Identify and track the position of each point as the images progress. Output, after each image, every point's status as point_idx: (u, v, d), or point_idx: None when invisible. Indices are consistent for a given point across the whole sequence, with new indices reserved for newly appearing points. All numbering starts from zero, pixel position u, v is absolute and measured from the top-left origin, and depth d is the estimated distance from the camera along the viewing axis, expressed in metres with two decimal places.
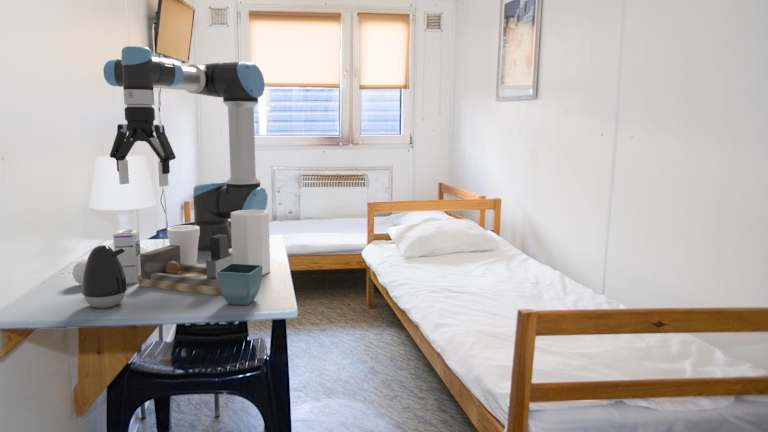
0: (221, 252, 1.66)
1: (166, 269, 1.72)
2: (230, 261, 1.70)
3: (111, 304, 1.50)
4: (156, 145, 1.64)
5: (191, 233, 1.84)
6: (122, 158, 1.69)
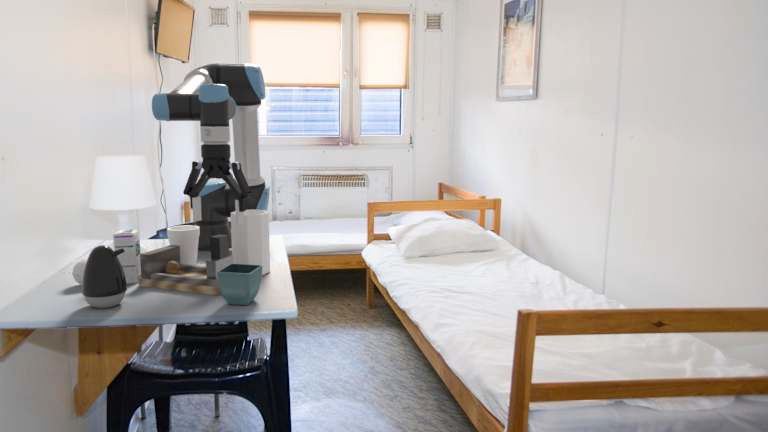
0: (221, 252, 1.66)
1: (166, 269, 1.72)
2: (230, 261, 1.70)
3: (111, 304, 1.50)
4: (233, 182, 1.62)
5: (191, 233, 1.84)
6: (195, 195, 1.67)
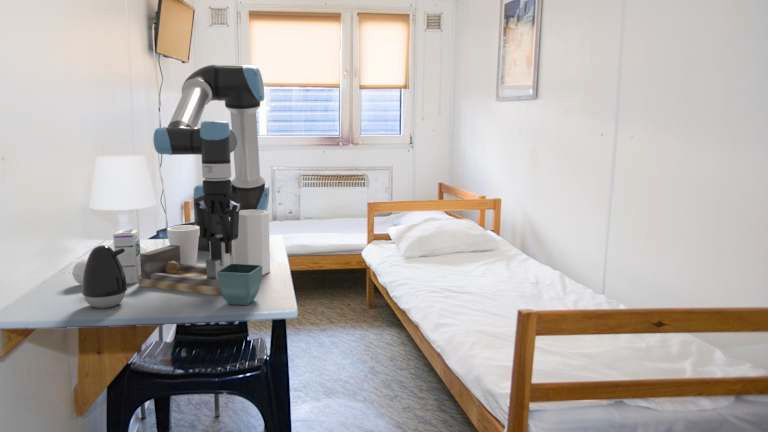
0: (221, 252, 1.66)
1: (166, 269, 1.72)
2: (230, 261, 1.70)
3: (111, 304, 1.50)
4: (226, 223, 1.65)
5: (191, 233, 1.84)
6: None
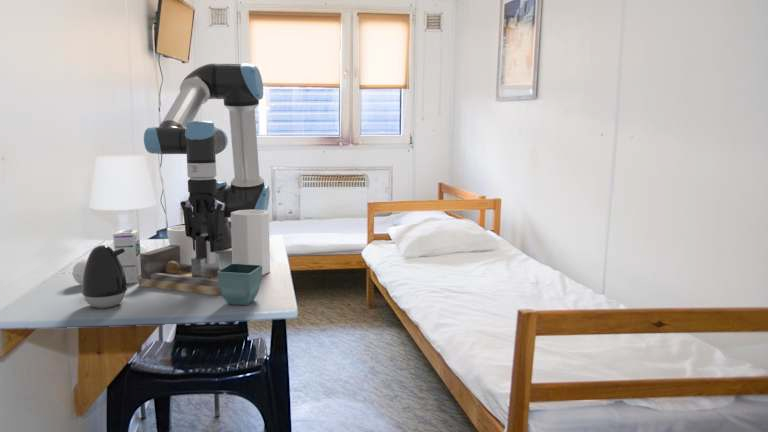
0: (206, 251, 1.67)
1: (166, 269, 1.72)
2: (216, 260, 1.72)
3: (111, 304, 1.50)
4: (211, 221, 1.67)
5: None
6: None
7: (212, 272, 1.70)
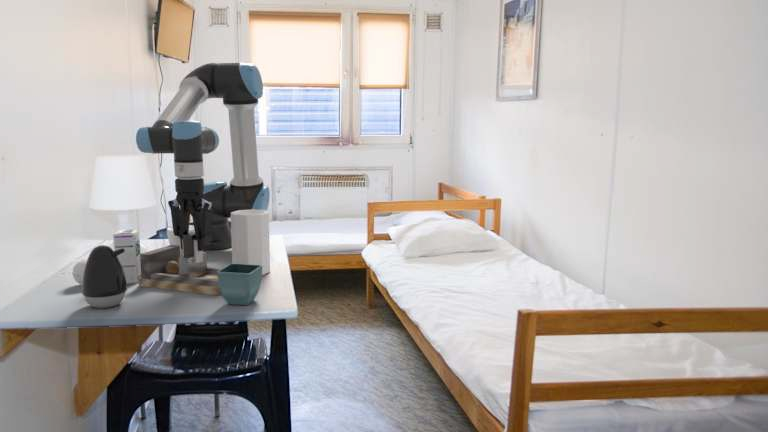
0: None
1: (166, 269, 1.72)
2: (203, 258, 1.73)
3: (111, 304, 1.50)
4: (199, 221, 1.68)
5: None
6: None
7: (199, 270, 1.72)
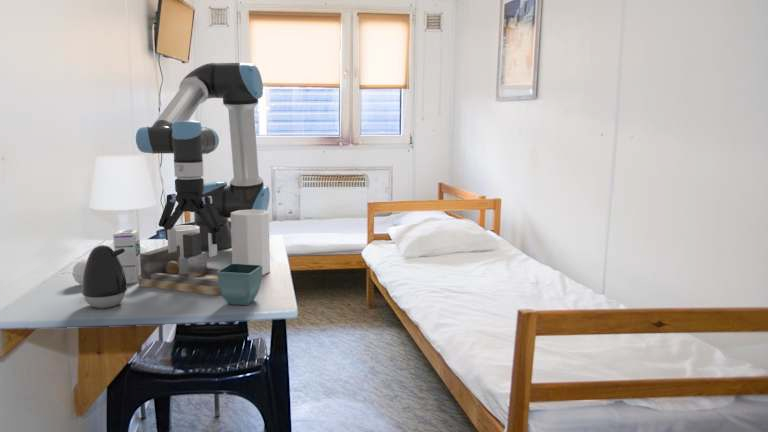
0: (193, 249, 1.69)
1: (166, 269, 1.72)
2: (203, 258, 1.73)
3: (111, 304, 1.50)
4: (206, 216, 1.67)
5: None
6: (170, 227, 1.72)
7: (199, 270, 1.72)
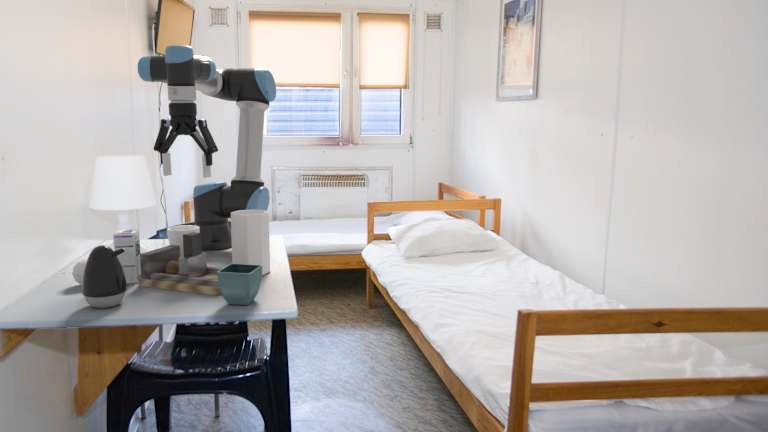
0: (193, 249, 1.69)
1: (166, 269, 1.72)
2: (203, 258, 1.73)
3: (111, 304, 1.50)
4: (200, 138, 1.74)
5: None
6: (165, 151, 1.79)
7: (199, 270, 1.72)
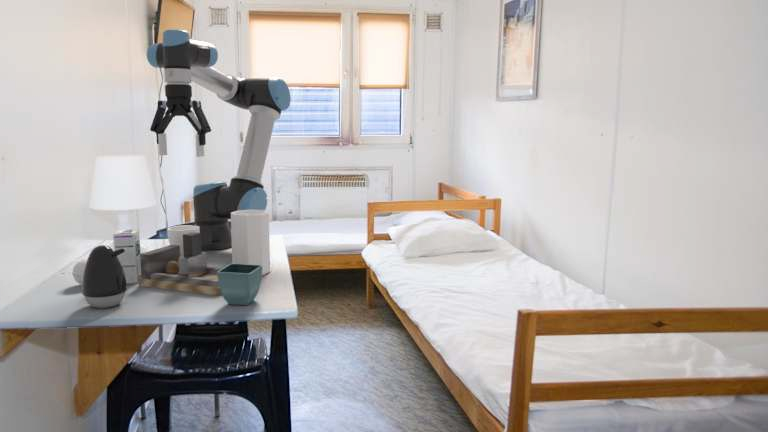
0: (193, 249, 1.69)
1: (166, 269, 1.72)
2: (203, 258, 1.73)
3: (111, 304, 1.50)
4: (194, 119, 1.81)
5: None
6: (161, 132, 1.87)
7: (199, 270, 1.72)
